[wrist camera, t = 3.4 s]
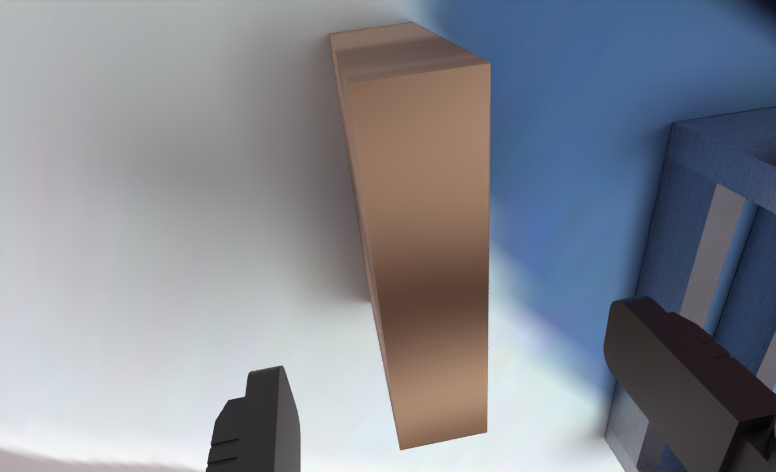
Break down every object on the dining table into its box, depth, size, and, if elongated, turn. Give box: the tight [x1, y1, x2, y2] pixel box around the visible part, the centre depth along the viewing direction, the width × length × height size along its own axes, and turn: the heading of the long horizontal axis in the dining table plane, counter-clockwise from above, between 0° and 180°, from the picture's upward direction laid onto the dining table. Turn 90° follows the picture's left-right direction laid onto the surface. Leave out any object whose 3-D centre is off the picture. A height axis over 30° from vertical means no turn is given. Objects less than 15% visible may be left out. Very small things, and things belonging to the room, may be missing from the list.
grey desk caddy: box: [605, 107, 776, 472], centre depth 21 cm, size 22×7×10 cm, turn 6°
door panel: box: [329, 22, 491, 450], centre depth 16 cm, size 12×3×8 cm, turn 6°
